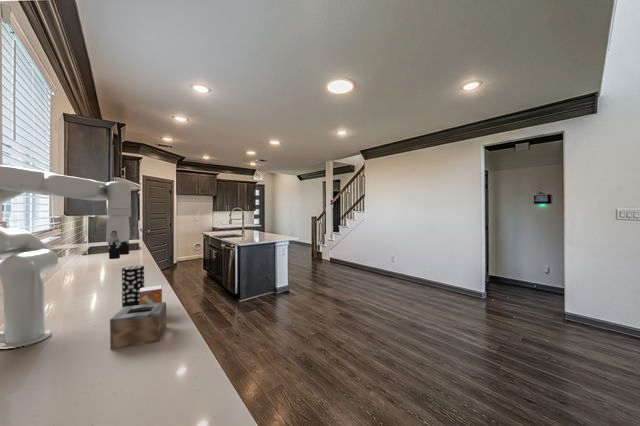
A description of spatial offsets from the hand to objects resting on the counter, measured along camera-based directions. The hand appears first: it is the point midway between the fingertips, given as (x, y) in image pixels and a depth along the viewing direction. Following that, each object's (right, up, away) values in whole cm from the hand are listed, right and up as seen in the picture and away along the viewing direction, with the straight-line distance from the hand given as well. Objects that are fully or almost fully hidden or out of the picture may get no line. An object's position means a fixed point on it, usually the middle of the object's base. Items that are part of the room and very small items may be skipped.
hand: (119, 256), depth 100 cm
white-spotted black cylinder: (-8, -28, +18) cm, 34 cm away
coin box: (+14, -28, -7) cm, 32 cm away
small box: (+6, -28, +9) cm, 30 cm away
